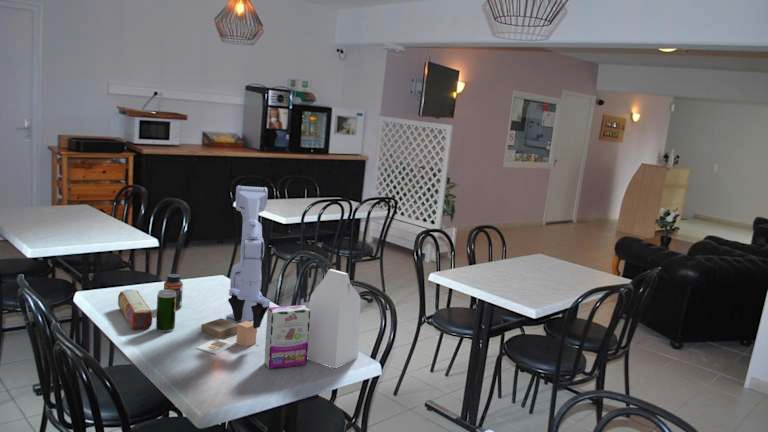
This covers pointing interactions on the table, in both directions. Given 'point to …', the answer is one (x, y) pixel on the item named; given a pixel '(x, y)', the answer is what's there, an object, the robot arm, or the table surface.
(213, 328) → the walnut slab
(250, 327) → the terracotta block
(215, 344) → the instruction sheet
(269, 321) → the candy bar box
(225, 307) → the table surface
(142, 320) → the snack package
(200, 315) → the table surface
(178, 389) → the table surface
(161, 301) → the beer can
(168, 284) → the supplement bottle
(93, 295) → the table surface
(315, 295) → the milk
